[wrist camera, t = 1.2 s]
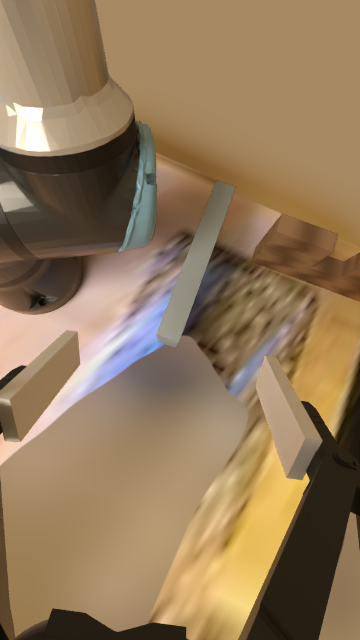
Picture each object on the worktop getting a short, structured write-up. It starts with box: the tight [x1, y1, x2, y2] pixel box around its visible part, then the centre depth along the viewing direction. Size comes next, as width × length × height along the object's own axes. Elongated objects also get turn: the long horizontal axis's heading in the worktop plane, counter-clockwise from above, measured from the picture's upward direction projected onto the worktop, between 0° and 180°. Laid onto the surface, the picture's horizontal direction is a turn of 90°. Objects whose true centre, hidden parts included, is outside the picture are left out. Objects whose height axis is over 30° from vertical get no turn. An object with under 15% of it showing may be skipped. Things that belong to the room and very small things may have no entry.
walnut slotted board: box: [251, 214, 360, 301], centre depth 39 cm, size 22×3×10 cm, turn 70°
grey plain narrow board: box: [157, 180, 236, 348], centre depth 37 cm, size 24×3×10 cm, turn 160°
